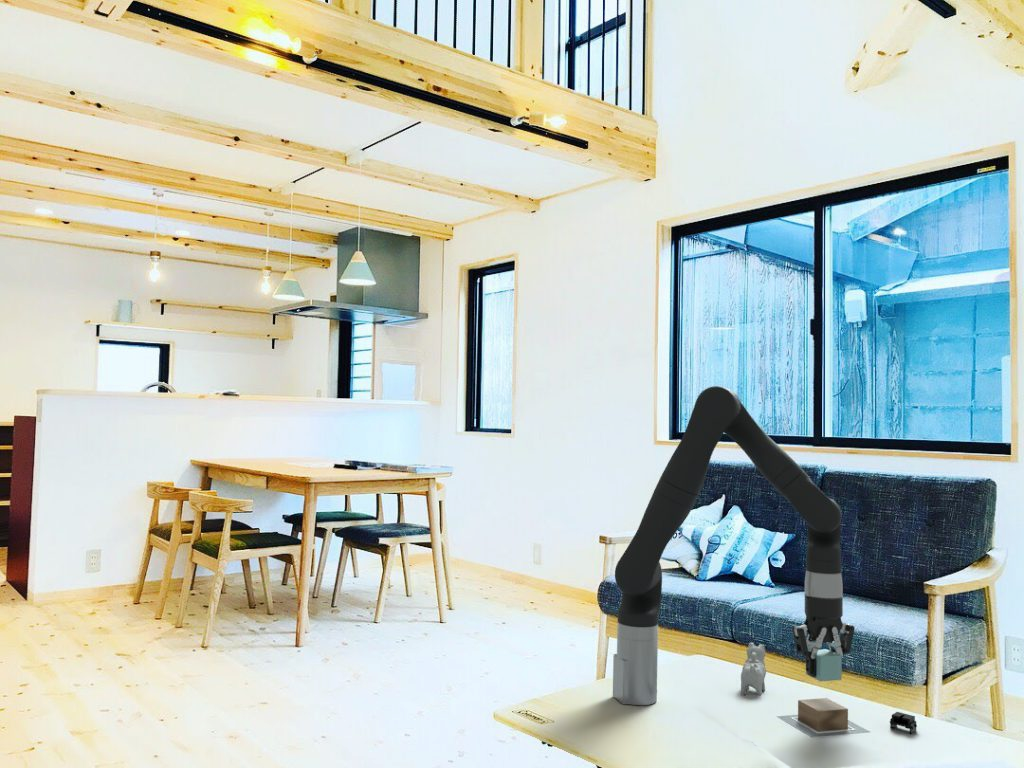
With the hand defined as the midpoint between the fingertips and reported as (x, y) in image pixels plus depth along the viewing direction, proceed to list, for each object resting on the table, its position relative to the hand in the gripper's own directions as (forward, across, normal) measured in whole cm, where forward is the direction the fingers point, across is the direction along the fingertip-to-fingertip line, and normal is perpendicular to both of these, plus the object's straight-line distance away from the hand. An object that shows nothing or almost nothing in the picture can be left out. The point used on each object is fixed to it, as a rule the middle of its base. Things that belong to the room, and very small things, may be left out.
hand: (823, 674), depth 175 cm
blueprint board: (+11, 0, 0) cm, 11 cm away
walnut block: (+10, 0, 0) cm, 10 cm away
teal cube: (0, 0, 0) cm, 0 cm away
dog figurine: (+11, +1, -25) cm, 28 cm away
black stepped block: (+12, -14, +6) cm, 20 cm away
